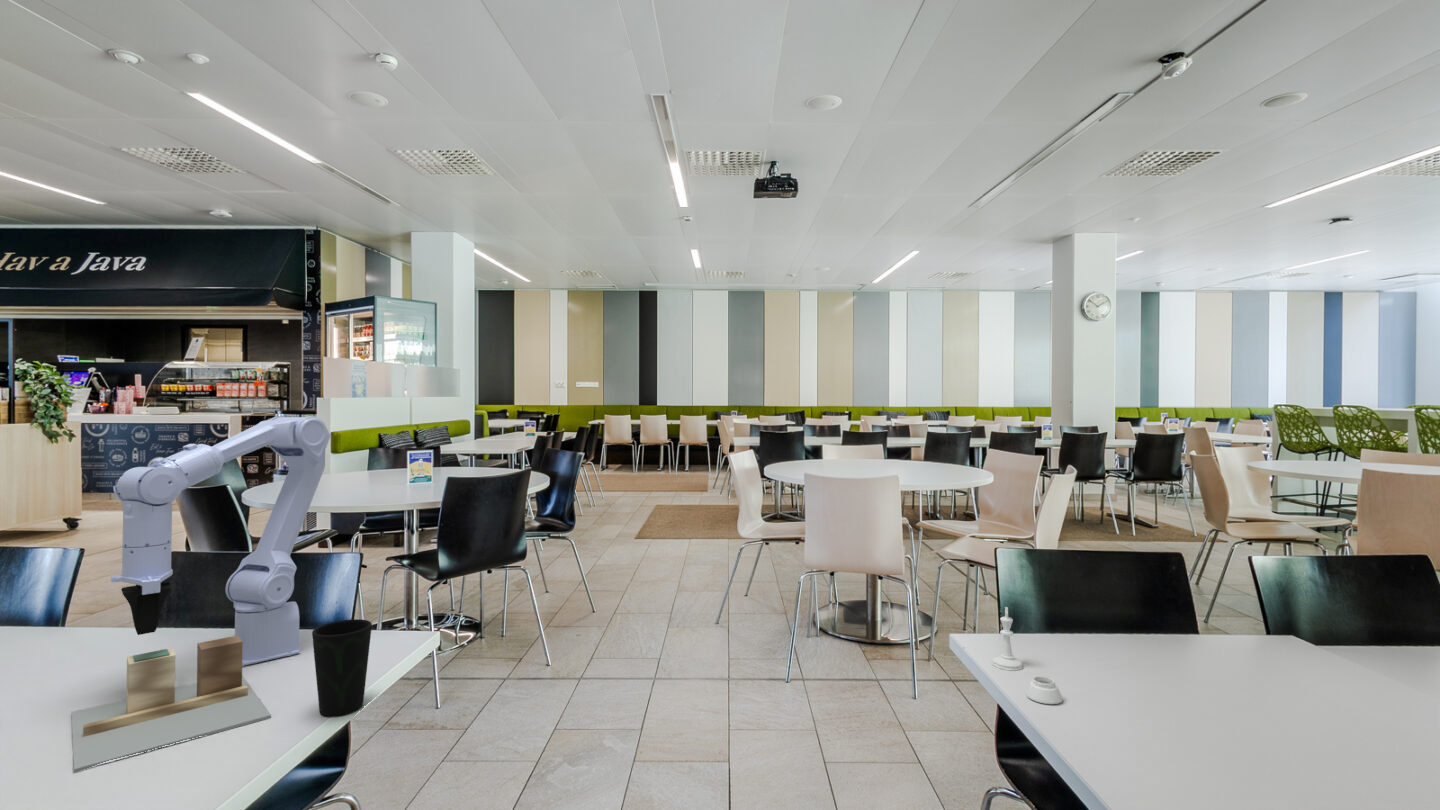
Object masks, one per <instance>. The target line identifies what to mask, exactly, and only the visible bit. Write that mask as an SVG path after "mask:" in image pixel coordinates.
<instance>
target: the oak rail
mask: <svg viewBox="0 0 1440 810" xmlns="http://www.w3.org/2000/svg"><path fill="white" fill-rule="evenodd" d="M247 695H248V687H247V686H246V685H245V686H241V687H237V688H233V689H229V690H225V691H221V692H216V693H212V694H208V695H204V696H200V697H196V698H192V699H188V700H184V701H179V702H175V703H171V704H167V705H163V706H159V707H155V708H151V709H146V710H142V711H138V712H134V713H130V714H126V715H122V716H118V717H114V718H109V719H105V720H101V721H97V722H93V723H89V724H85V725H83V737H85V736H89V735H93V734H97V733H101V732H105V731H109V730H113V729H117V728H120V727H124V726H128V725H132V724H136V723H140V722H144V721H148V720H152V719H156V718H160V717H164V716H168V715H172V714H176V713H180V712H184V711H188V710H192V709H196V708H200V707H204V706H208V705H212V704H215V703H219V702H223V701H227V700H231V699H235V698H239V697H243V696H247Z"/></svg>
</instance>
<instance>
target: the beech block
mask: <svg viewBox="0 0 1440 810" xmlns="http://www.w3.org/2000/svg"><path fill="white" fill-rule="evenodd" d="M125 687H126V689H125V691H126V693H125V694H126V695H125V696H126V697H125V699H126V714H130V713H134V712H138V711H142V710H146V709H151V708H155V707H159V706H163V705H167V704H171V703H175V688H176V653H175V652H174V649H173V648H165V649H164V648H163V649H159V650H155V651H150V652H145V653H140V654H133V655H132V656H127V657H126V686H125Z"/></svg>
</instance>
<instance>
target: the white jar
mask: <svg viewBox="0 0 1440 810" xmlns="http://www.w3.org/2000/svg"><path fill="white" fill-rule="evenodd" d="M1025 696H1026V698H1028V699H1030V700H1032V701H1033V702H1036V703H1039V704H1041V705H1056V704H1057V705H1058V704H1060V703H1062V702H1063V699H1064V698H1063V695H1062V694H1061V692H1060V689H1059V688H1058V686H1057V685H1056V682H1055V680H1054V679H1052V678H1050V677H1047V676H1039V675H1038V676H1037V675H1036V676H1034V677H1032V679H1031V681H1030V683H1029V684H1028V686H1027V688H1026V690H1025Z"/></svg>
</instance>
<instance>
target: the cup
mask: <svg viewBox="0 0 1440 810" xmlns="http://www.w3.org/2000/svg"><path fill="white" fill-rule="evenodd" d="M372 626H373V624H372V622H371V621H369V620H367V619H360V618H359V619H356V618H355V619H354V618H353V619H344V620H337V621H333V622H328V623H324V624H322V625H319V626H317V627H315V628H314V629H313V630H312V631H311V636H312V646H313V656H314V665H315V666H314V667H315V679H316V689H317V690H316V691H317V698H318V699H317V701H318V709H319V715H320V716H321V717H326V718H339V717H344V716H348V715H351V714H353V713H355V712H357V711H359V710H361V709H362V708H363V706H364V699H365V692H366V691H365V689H366V682H367V672H368V665H369V664H368V663H369V654H370V645H371V644H370V643H371V637H372V635H371V634H372Z"/></svg>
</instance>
